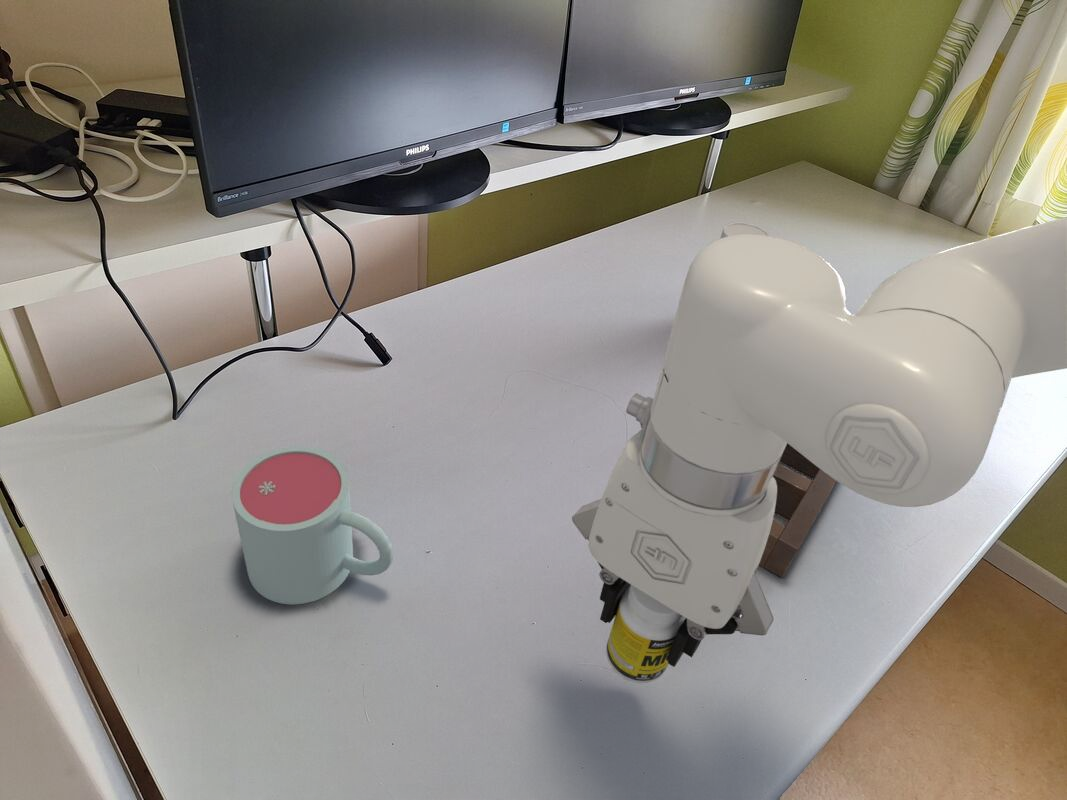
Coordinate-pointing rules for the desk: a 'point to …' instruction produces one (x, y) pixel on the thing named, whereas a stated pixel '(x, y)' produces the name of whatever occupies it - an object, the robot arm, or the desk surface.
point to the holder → (794, 508)
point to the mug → (300, 525)
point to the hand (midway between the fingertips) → (646, 627)
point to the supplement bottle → (641, 637)
